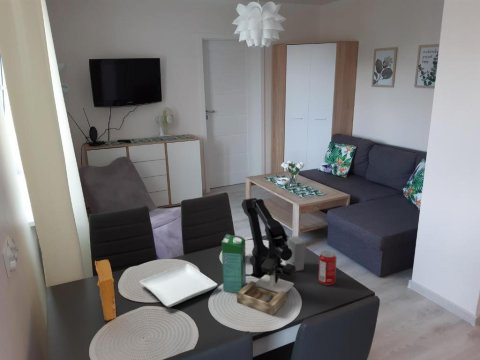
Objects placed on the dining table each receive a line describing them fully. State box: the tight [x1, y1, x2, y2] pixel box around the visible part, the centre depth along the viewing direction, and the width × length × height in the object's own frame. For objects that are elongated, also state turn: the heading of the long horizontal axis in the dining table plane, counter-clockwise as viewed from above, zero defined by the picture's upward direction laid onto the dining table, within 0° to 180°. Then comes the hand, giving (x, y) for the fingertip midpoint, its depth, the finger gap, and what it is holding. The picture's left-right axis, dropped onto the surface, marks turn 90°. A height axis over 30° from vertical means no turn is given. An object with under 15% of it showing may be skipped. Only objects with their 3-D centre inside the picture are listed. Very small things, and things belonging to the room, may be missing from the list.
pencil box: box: [236, 280, 287, 317], centre depth 165 cm, size 18×12×5 cm, turn 56°
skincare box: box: [284, 235, 307, 272], centre depth 193 cm, size 8×7×16 cm
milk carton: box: [221, 233, 247, 293], centre depth 175 cm, size 9×9×25 cm
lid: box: [254, 271, 295, 294], centre depth 174 cm, size 15×10×6 cm, turn 56°
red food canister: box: [318, 250, 337, 286], centre depth 179 cm, size 8×8×15 cm
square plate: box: [139, 263, 218, 308], centre depth 178 cm, size 27×27×4 cm
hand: (274, 281), depth 175 cm, fingers closed on lid
